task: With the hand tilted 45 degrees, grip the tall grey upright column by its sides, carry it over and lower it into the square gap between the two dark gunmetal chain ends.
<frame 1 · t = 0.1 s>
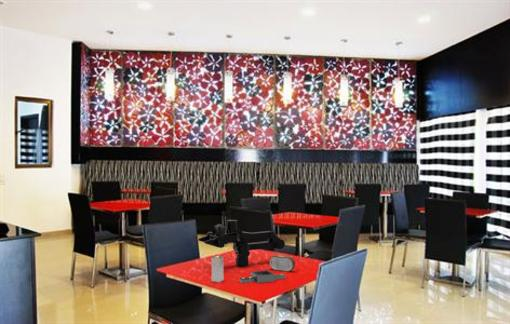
hand: (201, 240, 247), 17 cm above the table, tool horizontal, fingers open, 9 cm apart
grey upright column: (217, 280, 227), on the table
tin: (281, 271, 247), on the table
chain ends: (262, 279, 228), on the table
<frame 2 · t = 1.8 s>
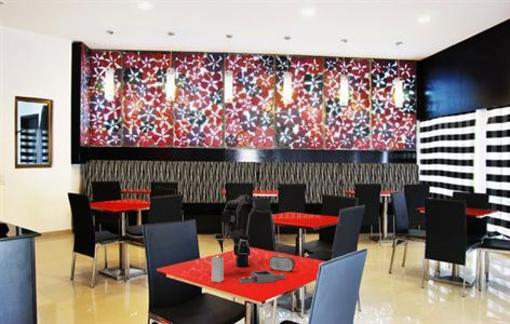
hand: (230, 253, 241), 11 cm above the table, tool pointing down, fingers open, 9 cm apart
nothing on the table moved.
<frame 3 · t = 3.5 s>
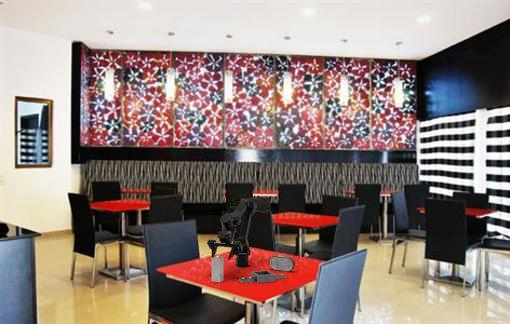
hand: (220, 258, 230), 10 cm above the table, tool tilted 45°, fingers open, 9 cm apart
nothing on the table moved.
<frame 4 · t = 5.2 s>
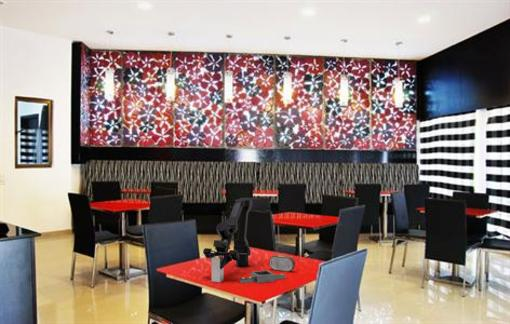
hand: (216, 268, 225), 7 cm above the table, tool tilted 45°, fingers closed on grey upright column, 4 cm apart
grey upright column: (217, 280, 227), on the table, touching gripper
everything else where it was.
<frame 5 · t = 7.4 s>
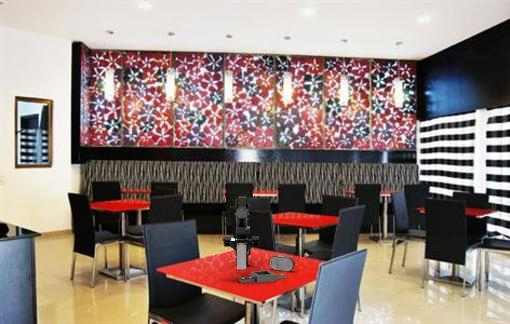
hand: (241, 255, 224), 13 cm above the table, tool tilted 45°, fingers closed on grey upright column, 4 cm apart
grey upright column: (241, 267, 225), point 7 cm above the table, touching gripper
everything else where it was.
when the fingers open (8 cm above the table, at t = 9.9 s): grey upright column drops 1 cm, resting in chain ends.
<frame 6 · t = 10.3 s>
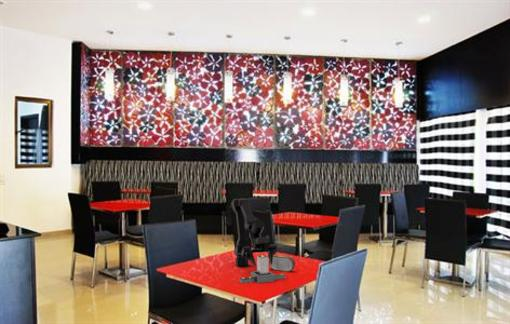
hand: (263, 264, 227), 8 cm above the table, tool tilted 45°, fingers open, 9 cm apart
grey upright column: (262, 279, 228), resting in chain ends
everything else where it was.
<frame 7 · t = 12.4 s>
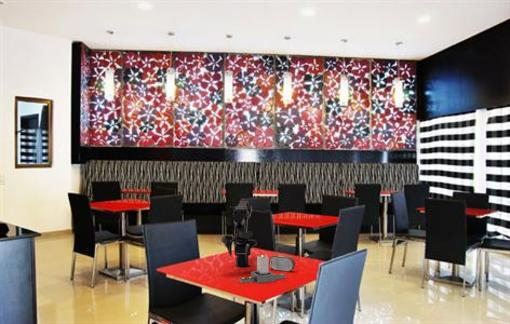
hand: (238, 256, 238), 10 cm above the table, tool tilted 25°, fingers open, 9 cm apart
nothing on the table moved.
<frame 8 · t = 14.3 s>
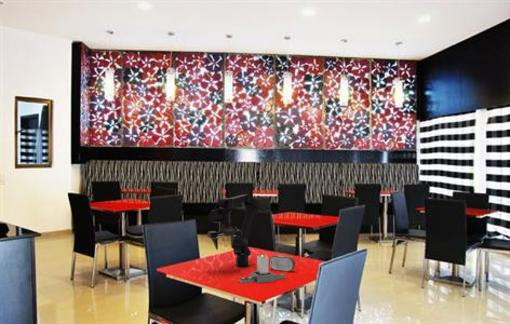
hand: (224, 249, 247), 12 cm above the table, tool pointing down, fingers open, 9 cm apart
nothing on the table moved.
at the end: grey upright column 0.1 cm off-centre on the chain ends, point 0.0 cm above the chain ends's base; grey upright column tilted 0°; the gripper is holding nothing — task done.
